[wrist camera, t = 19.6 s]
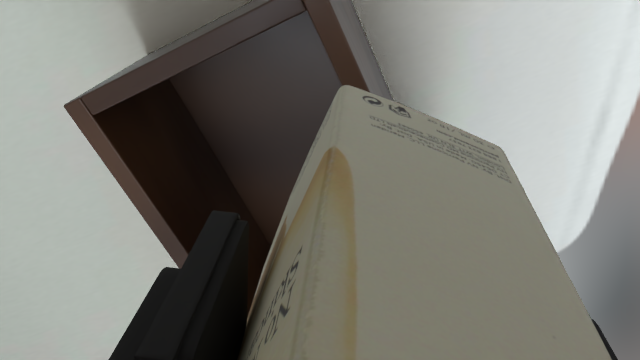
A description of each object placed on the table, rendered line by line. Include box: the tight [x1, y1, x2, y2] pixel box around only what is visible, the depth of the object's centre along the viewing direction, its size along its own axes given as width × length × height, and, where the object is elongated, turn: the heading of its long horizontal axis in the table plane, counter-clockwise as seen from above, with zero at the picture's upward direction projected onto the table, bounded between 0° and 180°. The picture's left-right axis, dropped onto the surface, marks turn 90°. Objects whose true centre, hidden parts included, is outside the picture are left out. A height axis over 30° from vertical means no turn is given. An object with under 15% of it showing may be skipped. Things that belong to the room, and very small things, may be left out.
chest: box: [64, 0, 393, 318], centre depth 26 cm, size 16×12×9 cm
